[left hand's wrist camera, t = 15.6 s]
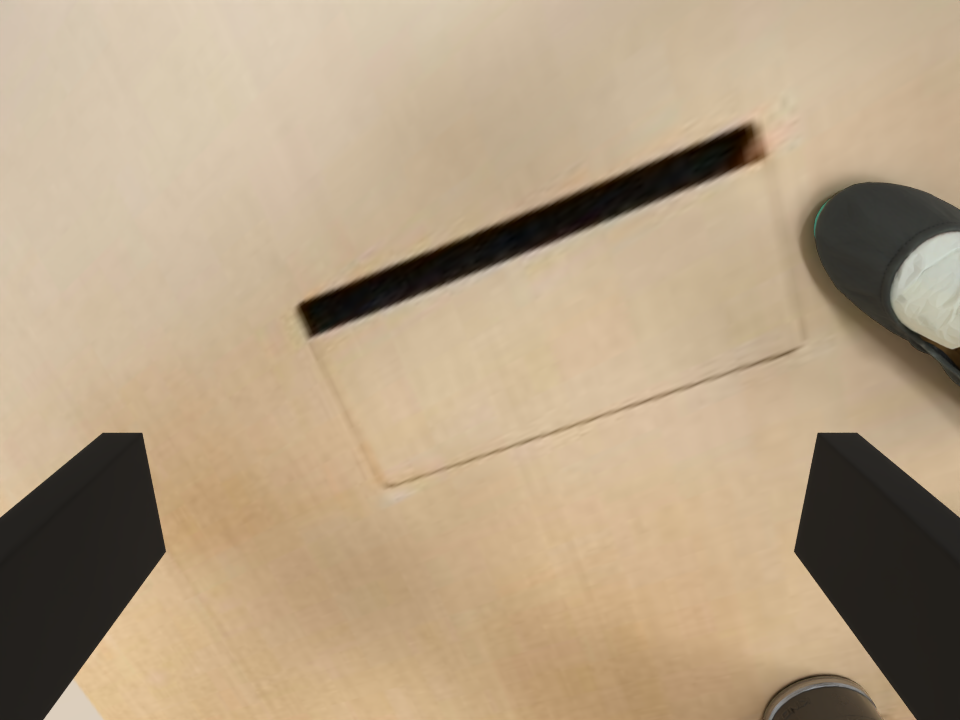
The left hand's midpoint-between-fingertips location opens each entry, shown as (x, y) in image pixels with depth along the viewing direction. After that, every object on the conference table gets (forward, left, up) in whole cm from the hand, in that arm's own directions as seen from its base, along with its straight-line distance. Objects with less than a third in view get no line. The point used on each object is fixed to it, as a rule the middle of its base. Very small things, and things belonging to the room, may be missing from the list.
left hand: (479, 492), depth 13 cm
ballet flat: (-4, +32, -32) cm, 45 cm away
